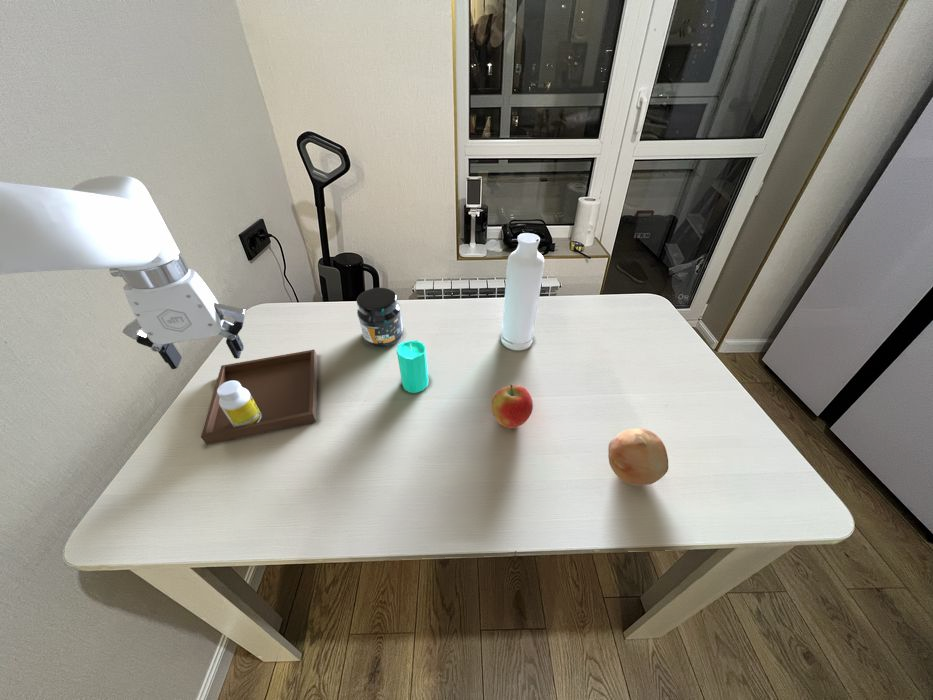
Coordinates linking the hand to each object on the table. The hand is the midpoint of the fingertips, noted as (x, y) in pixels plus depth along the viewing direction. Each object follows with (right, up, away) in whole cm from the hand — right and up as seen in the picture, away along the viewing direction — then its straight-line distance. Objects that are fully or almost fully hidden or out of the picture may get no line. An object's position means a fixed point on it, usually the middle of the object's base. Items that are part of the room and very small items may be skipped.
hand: (208, 358), depth 66 cm
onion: (+75, -21, +4) cm, 78 cm away
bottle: (+58, +4, +32) cm, 66 cm away
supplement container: (+23, +5, +33) cm, 41 cm away
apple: (+54, -13, +13) cm, 57 cm away
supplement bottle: (0, -13, +12) cm, 18 cm away
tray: (+1, -9, +18) cm, 20 cm away
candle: (+33, -6, +21) cm, 40 cm away
